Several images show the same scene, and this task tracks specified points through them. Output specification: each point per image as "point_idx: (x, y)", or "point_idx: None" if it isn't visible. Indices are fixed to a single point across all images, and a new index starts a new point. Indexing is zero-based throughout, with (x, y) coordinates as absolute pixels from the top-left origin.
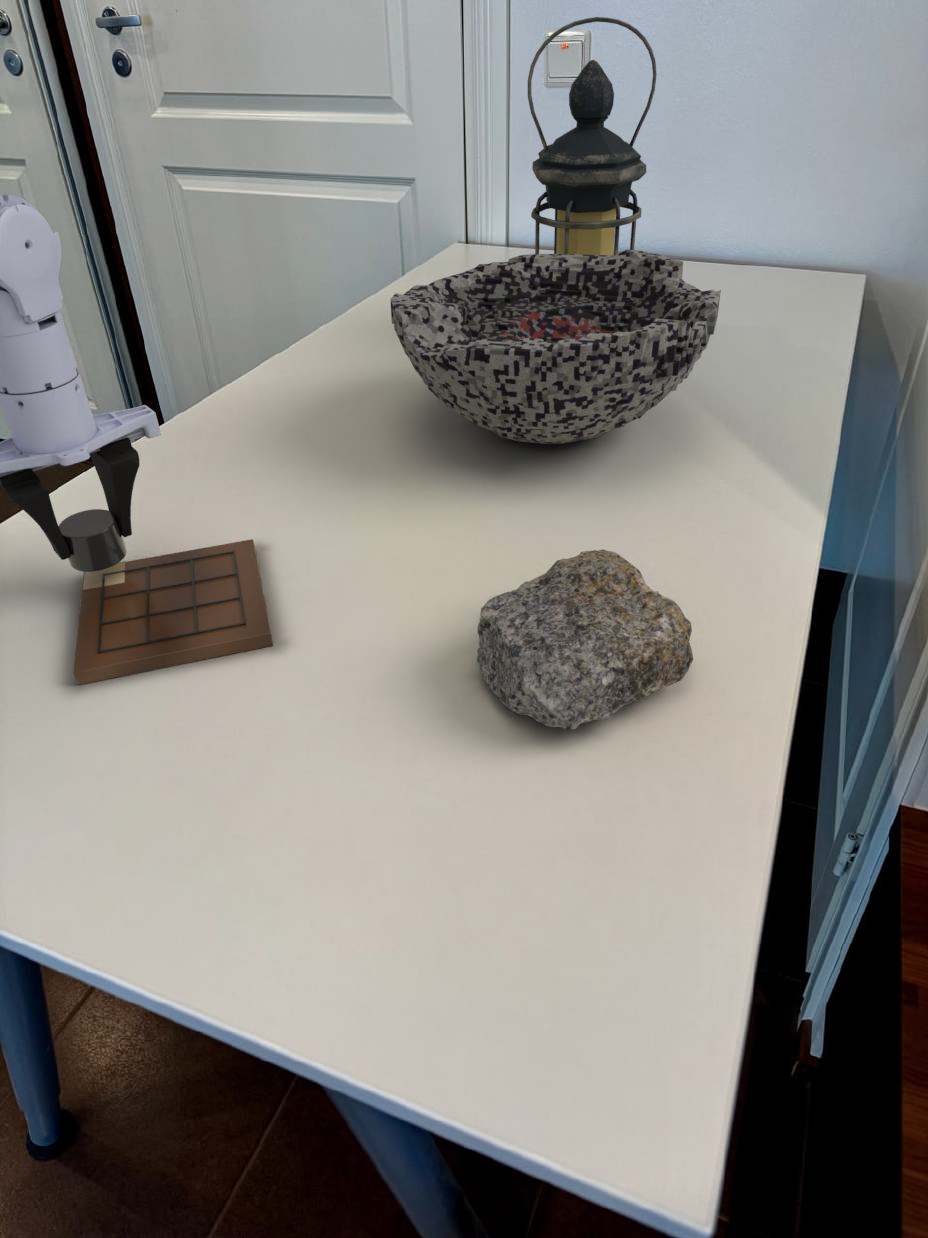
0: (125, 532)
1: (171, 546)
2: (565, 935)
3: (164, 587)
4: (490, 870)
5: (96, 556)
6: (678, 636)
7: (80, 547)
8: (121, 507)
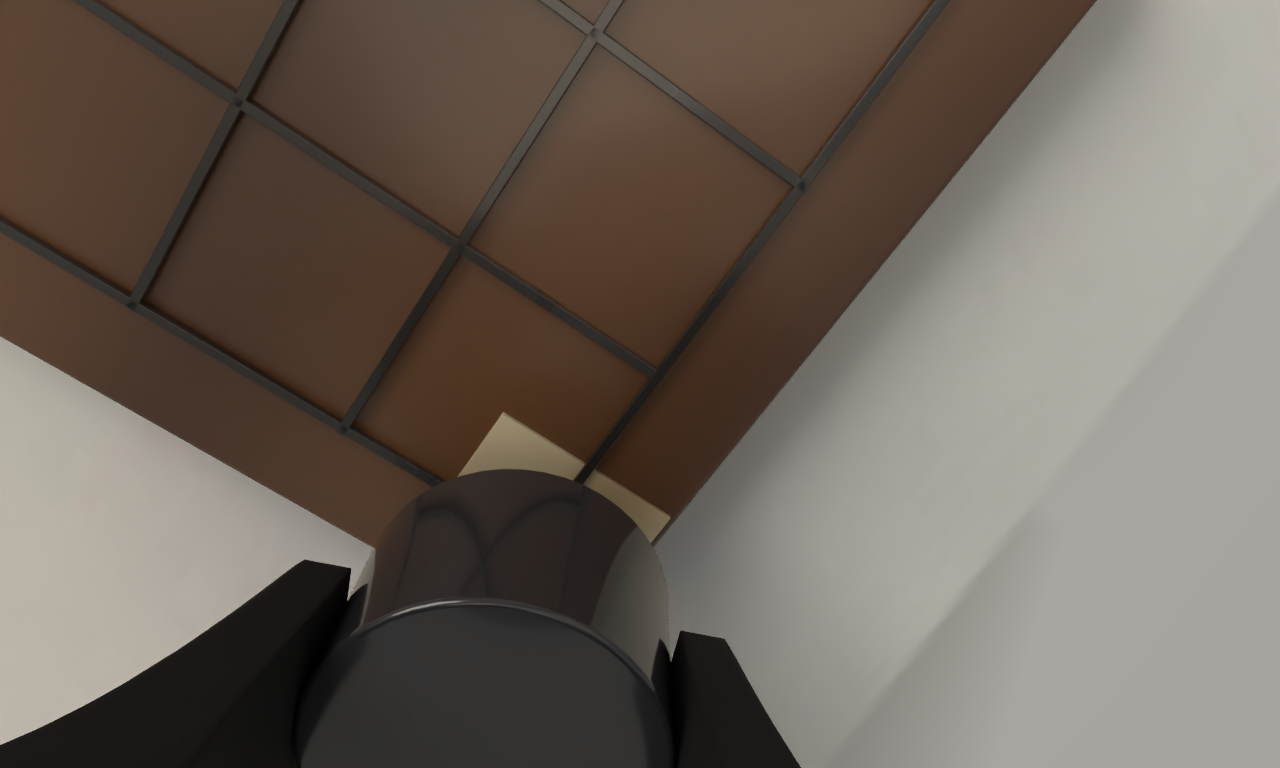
0: (327, 575)
1: (151, 555)
2: None
3: (386, 192)
4: None
5: (577, 532)
6: None
7: (635, 614)
8: (235, 674)
